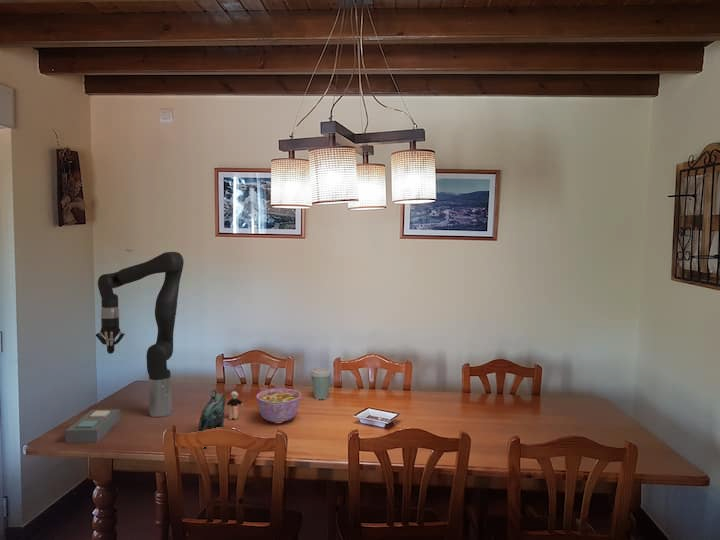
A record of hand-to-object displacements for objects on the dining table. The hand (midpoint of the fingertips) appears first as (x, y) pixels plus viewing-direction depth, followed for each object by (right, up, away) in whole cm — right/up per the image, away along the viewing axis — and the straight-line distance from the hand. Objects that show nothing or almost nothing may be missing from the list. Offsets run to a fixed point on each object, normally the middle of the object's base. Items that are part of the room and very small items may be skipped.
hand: (110, 353), depth 242 cm
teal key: (+5, -27, -30) cm, 40 cm away
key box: (+4, -29, -24) cm, 38 cm away
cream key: (+4, -26, -18) cm, 32 cm away
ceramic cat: (+56, -31, -30) cm, 70 cm away
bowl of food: (+79, -30, -7) cm, 85 cm away
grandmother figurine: (+59, -29, -6) cm, 66 cm away
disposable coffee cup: (+96, -27, +25) cm, 103 cm away
